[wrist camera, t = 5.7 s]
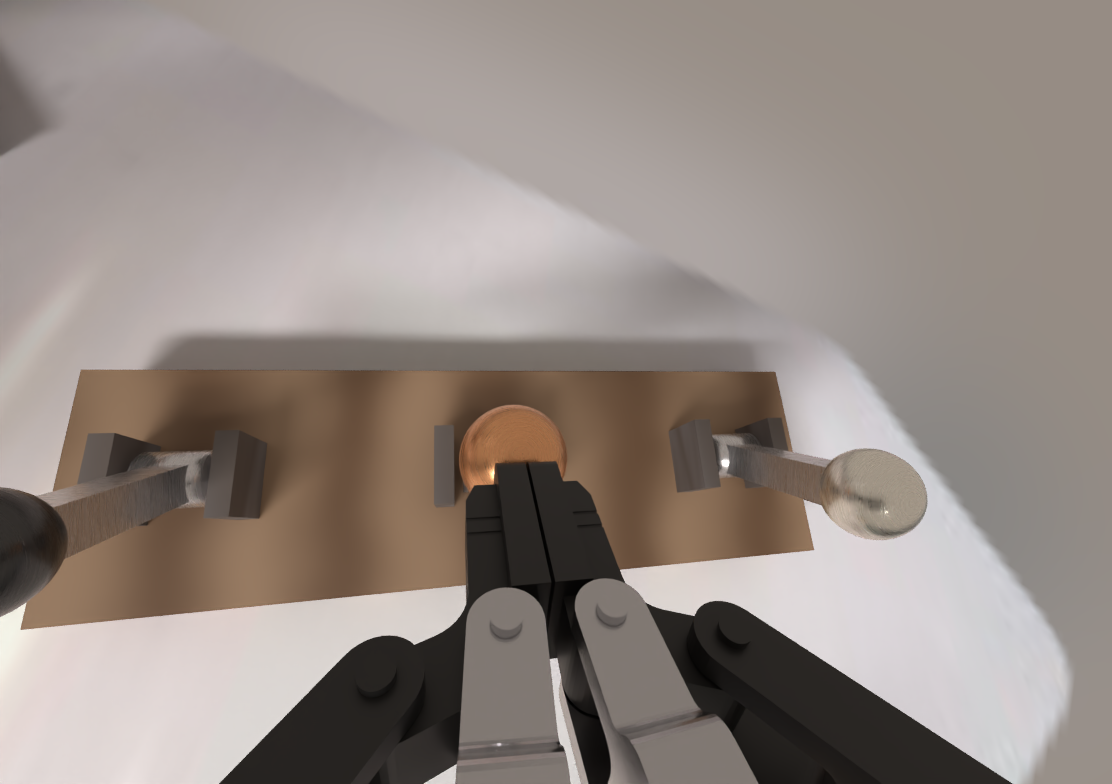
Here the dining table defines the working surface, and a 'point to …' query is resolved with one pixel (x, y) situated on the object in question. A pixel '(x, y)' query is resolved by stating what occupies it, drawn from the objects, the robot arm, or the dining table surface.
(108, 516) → the black lever
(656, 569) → the dining table surface
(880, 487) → the cream lever
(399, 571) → the switch panel
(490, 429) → the orange lever
